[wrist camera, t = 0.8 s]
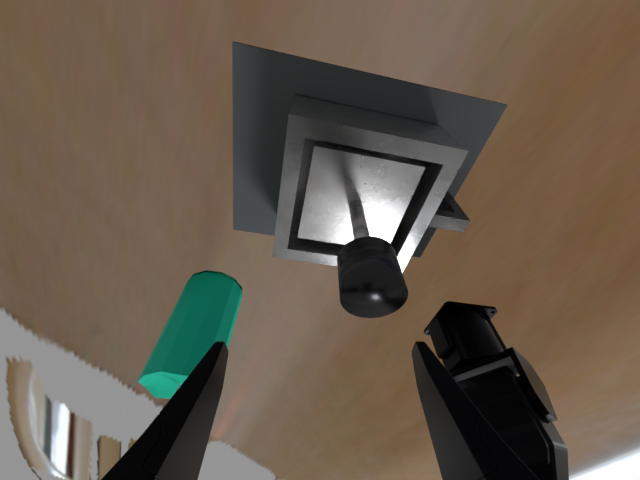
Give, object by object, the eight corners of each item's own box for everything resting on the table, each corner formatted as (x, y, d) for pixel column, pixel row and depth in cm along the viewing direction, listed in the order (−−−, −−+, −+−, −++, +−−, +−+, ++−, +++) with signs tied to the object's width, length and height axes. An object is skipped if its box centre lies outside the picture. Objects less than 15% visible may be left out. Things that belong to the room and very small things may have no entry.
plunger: (422, 163, 17) (486, 252, 10) (385, 245, 21) (414, 345, 15) (314, 142, 16) (311, 224, 10) (297, 232, 20) (288, 332, 14)
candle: (192, 263, 28) (127, 386, 18) (249, 280, 29) (217, 402, 20) (183, 298, 31) (125, 417, 22) (235, 311, 33) (202, 428, 23)
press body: (476, 132, 19) (515, 160, 15) (418, 240, 26) (435, 280, 22) (295, 93, 18) (288, 114, 14) (279, 218, 24) (272, 257, 20)
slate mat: (505, 104, 19) (507, 105, 18) (419, 255, 27) (420, 257, 27) (233, 41, 16) (232, 41, 16) (233, 227, 25) (233, 229, 25)
